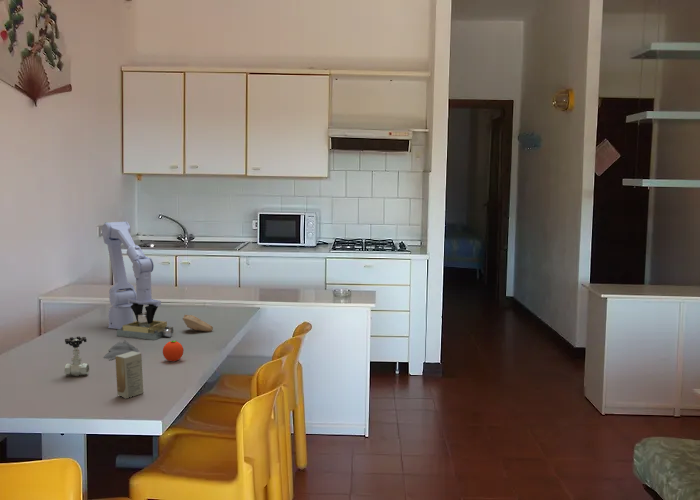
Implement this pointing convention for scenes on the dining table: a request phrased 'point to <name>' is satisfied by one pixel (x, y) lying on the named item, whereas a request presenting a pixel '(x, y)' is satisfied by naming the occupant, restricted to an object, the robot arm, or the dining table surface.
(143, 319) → the tin can
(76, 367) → the valve
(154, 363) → the dining table surface
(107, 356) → the cloth
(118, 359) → the skincare box
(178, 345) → the clementine
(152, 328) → the metal tray
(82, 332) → the dining table surface
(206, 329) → the pottery oil lamp
